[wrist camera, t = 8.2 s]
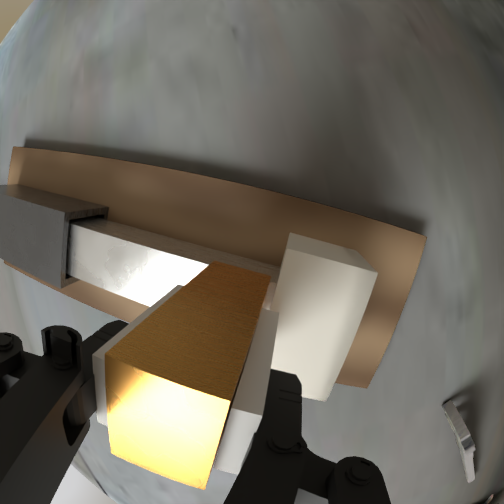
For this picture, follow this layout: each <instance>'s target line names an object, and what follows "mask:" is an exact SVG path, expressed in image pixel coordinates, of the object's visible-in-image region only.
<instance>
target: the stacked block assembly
mask: <svg viewBox="0 0 504 504" xmlns="http://www.w3.org/2000/svg"><path fill="white" fill-rule="evenodd" d="M280 270H281V267H278V266H274V265H270V264H267V263H263V262H259V261H255V260H252V259H248V258H244V257H241V256H237V255H233V254H229V253H226V252H222V251H218V250H215V249H211V248H207V247H204V246H200V245H196V244H192V243H189V242H185V241H181V240H178V239H174V238H171V237H167V236H163V235H160V234H156V233H152V232H149V231H145V230H141V229H138V228H134V227H131V226H127V225H123V224H120V223H116V222H113V221H109V220H105V219H102V218H98V217H95V216H89V217H82V218H77V219H71V220H69V226H68V237H67V251H66V274H68V275H71V276H73V277H75V278H78V279H80V280H83V281H85V282H87V283H90V284H92V285H95V286H97V287H100V288H102V289H105V290H107V291H110V292H113V293H115V294H118V295H120V296H123V297H126V298H128V299H131V300H134V301H137V302H139V303H142V304H145V305H148V306H152V305H153V304H154V303H155V302H157V301H158V300H159V299H160V298H162V297H163V296H164V295H165V294H166V293H168V292H169V291H170V290H171V289H173V288H174V287H175V286H176V285H178V284H180V285H184V286H183V287H182V288H181V289H180V290H178V291H177V292H176V293H175V294H174V295H173V296H171V297H170V298H169V299H168V300H167V301H165V302H164V303H163V304H162V305H161V306H160V307H158V308H157V309H156V310H155V311H154V312H153V313H151V314H150V315H149V316H148V317H147V318H146V319H144V320H143V321H142V322H141V323H140V324H139V325H137V326H136V327H135V328H134V329H133V330H132V331H130V332H129V333H128V334H127V335H126V336H125V337H123V338H122V339H121V340H120V341H119V342H118V343H117V344H115V345H114V346H113V347H112V348H111V349H110V350H108V351H107V352H106V353H105V388H106V404H107V417H108V428H109V437H110V445H111V453H112V454H114V455H116V456H118V457H120V458H122V459H125V460H127V461H129V462H131V463H133V464H136V465H138V466H140V467H142V468H145V469H147V470H150V471H152V472H155V473H157V474H160V475H162V476H165V477H167V478H170V479H173V480H176V481H178V482H181V483H184V484H187V485H190V486H193V487H196V488H200V489H203V490H205V487H206V484H207V482H208V479H209V476H210V473H211V470H212V467H213V464H214V461H215V458H216V456H217V453H218V450H219V447H220V444H221V441H222V438H223V434H224V431H225V428H226V424H227V421H228V417H229V414H230V411H231V407H232V404H233V401H234V398H235V395H236V392H237V388H238V385H239V382H240V379H241V376H242V373H243V369H244V366H245V363H246V360H247V356H248V353H249V350H250V347H251V343H252V340H253V337H254V334H255V330H256V327H257V324H258V320H259V317H260V314H261V310H262V308H263V309H267V310H270V307H271V304H272V300H273V297H274V293H275V290H276V286H277V282H278V279H279V275H280Z"/></svg>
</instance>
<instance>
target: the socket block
mask: <svg viewBox="0 0 504 504" xmlns="http://www.w3.org/2000/svg"><path fill="white" fill-rule="evenodd" d="M377 275H378V272H377V271H376V270H375V269H374V268H373V267H372V266H371V265H370V264H369V263H368V262H367V261H366V260H365V259H364V258H363V257H362V256H361V255H360V254H359V253H358V252H357V251H356V250H352V249H349V248H345V247H342V246H338V245H334V244H331V243H327V242H323V241H320V240H316V239H312V238H309V237H305V236H301V235H298V234H294V233H290V234H289V237H288V241H287V245H286V249H285V252H284V256H283V260H282V264H281V270H280V275H279V279H278V282H277V286H276V290H275V293H274V297H273V300H272V304H271V307H270V310H271V311H275V312H278V313H279V318H278V325H277V332H276V338H275V345H274V351H273V357H272V364H271V369H275V370H279V371H283V372H287V373H291V374H296V375H297V377H298V379H299V380H300V382H301V384H302V395H301V396H302V397H306V398H310V399H315V400H320V401H326V400H327V398H328V396H329V394H330V392H331V390H332V388H333V386H334V383H335V381H336V379H337V377H338V375H339V372H340V370H341V368H342V366H343V363H344V361H345V359H346V357H347V354H348V352H349V349H350V347H351V345H352V342H353V340H354V337H355V335H356V332H357V330H358V327H359V325H360V322H361V320H362V317H363V314H364V312H365V309H366V306H367V303H368V301H369V298H370V295H371V292H372V289H373V286H374V284H375V281H376V278H377Z"/></svg>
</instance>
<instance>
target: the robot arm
mask: <svg viewBox="0 0 504 504" xmlns="http://www.w3.org/2000/svg"><path fill="white" fill-rule="evenodd" d="M183 286H184V285H180V284H178V285H176V286H175V287H174V288H173V289H171V290H170V291H169V292H168V293H166V294H165V295H164V296H163V297H162V298H160V299H159V300H158V301H157V302H155V303H154V304H153V305H152V306H150V307H149V308H148V309H147V310H146V311H144V312H143V313H142V314H141V315H139V316H138V317H137V318H136V319H135V320H133V321H132V322H131V323H130V324H128V323H126V322H123V321H121V320H117V321H114V322H110V323H107V324H106V325H104V326H103V327H102V328H100V329H99V331H96V332H95V333H94V334H93V335H92V336H90V337H88V338H87V339H86V340H84V341H83V342H82V336H81V335H80V334H79V332H78V331H76V330H74V329H73V328H71V327H67V326H57V325H54V326H50V327H46V328H45V329H43V330H41V334H42V343H43V351H44V355H43V356H42V357H41V356H38V355H34V354H31V353H28V352H25V351H23V346H22V341H21V340H20V338H19V337H18V336H16V335H14V334H11V333H0V504H50V503H51V501H52V498H53V497H54V495H55V492H56V491H57V489H58V487H59V485H60V483H61V481H62V479H63V477H64V475H65V473H66V471H67V469H68V468H69V466H70V464H71V462H72V460H73V458H74V456H75V454H76V453H77V451H78V449H79V447H80V445H81V443H82V442H83V440H84V438H85V436H86V434H87V433H88V431H89V428H90V420H89V418H90V417H91V415H92V414H93V413H94V412H95V411H96V413H97V422H99V423H101V424H103V425H105V426H107V427H108V417H107V404H106V388H105V353H106V352H107V351H108V350H110V349H111V348H112V347H113V346H114V345H115V344H117V343H118V342H119V341H120V340H121V339H122V338H123V337H125V336H126V335H127V334H128V333H129V332H130V331H132V330H133V329H134V328H135V327H136V326H137V325H139V324H140V323H141V322H142V321H143V320H144V319H146V318H147V317H148V316H149V315H150V314H151V313H153V312H154V311H155V310H156V309H157V308H158V307H160V306H161V305H162V304H163V303H164V302H165V301H167V300H168V299H169V298H170V297H171V296H173V295H174V294H175V293H176V292H177V291H178V290H180V289H181V288H182V287H183ZM278 318H279V313H278V312H275V311H271V310H267V309H263V308H262V310H261V314H260V317H259V320H258V324H257V327H256V330H255V334H254V337H253V340H252V343H251V347H250V350H249V353H248V356H247V360H246V363H245V366H244V369H243V373H242V376H241V379H240V382H239V385H238V388H237V392H236V395H235V398H234V401H233V404H232V407H231V411H230V414H229V417H228V421H227V424H226V428H225V431H224V434H223V438H222V441H221V444H220V448H219V451H218V454H217V457H216V461H215V464H214V467H213V468H215V469H218V470H222V471H226V472H229V473H233V474H237V475H238V476H237V478H236V480H235V482H234V484H233V486H232V488H231V490H230V492H229V494H228V496H227V498H226V500H225V502H224V504H391V502H390V499H389V495H388V492H387V489H386V486H385V482H384V479H383V476H382V473H381V472H380V470H379V468H378V467H377V466H376V465H375V464H374V463H373V462H371V461H369V460H367V459H365V458H361V457H356V456H353V457H346V458H344V459H342V460H340V461H339V462H338V463H334V462H331V461H329V460H326V459H324V458H321V457H319V456H317V455H315V454H314V453H313V452H311V451H310V450H309V449H308V448H307V444H306V442H305V440H304V439H303V437H302V435H301V428H302V404H301V403H302V396H301V395H302V384H301V382H300V380H299V379H298V377H297V375H296V374H291V373H287V372H283V371H279V370H275V369H271V364H272V357H273V351H274V345H275V338H276V332H277V325H278Z"/></svg>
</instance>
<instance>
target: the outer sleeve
mask: <svg viewBox="0 0 504 504" xmlns="http://www.w3.org/2000/svg"><path fill="white" fill-rule="evenodd" d="M108 211H109V207H108V206H104V205H100V204H96V203H92V202H88V201H84V200H80V199H76V198H72V197H68V196H64V195H60V194H56V193H52V192H48V191H44V190H40V189H36V188H32V187H28V186H24V185H20V184H11V185H0V258H1V259H3V260H5V261H7V262H9V263H10V264H12V265H14V266H16V267H18V268H20V269H22V270H24V271H25V272H27V273H29V274H31V275H33V276H35V277H37V278H39V279H41V280H43V281H45V282H47V283H49V284H51V285H53V286H55V287H58V288H60V289H62V288H64V287H66V286H68V285H70V284H73V283H75V282H77V281H79V280H80V279H78V278H75V277H73V276H71V275H68V274H66V251H67V237H68V226H69V220H71V219H77V218H82V217H89V216H95V217H98V218H102V219H105V220H107V218H108Z"/></svg>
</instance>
